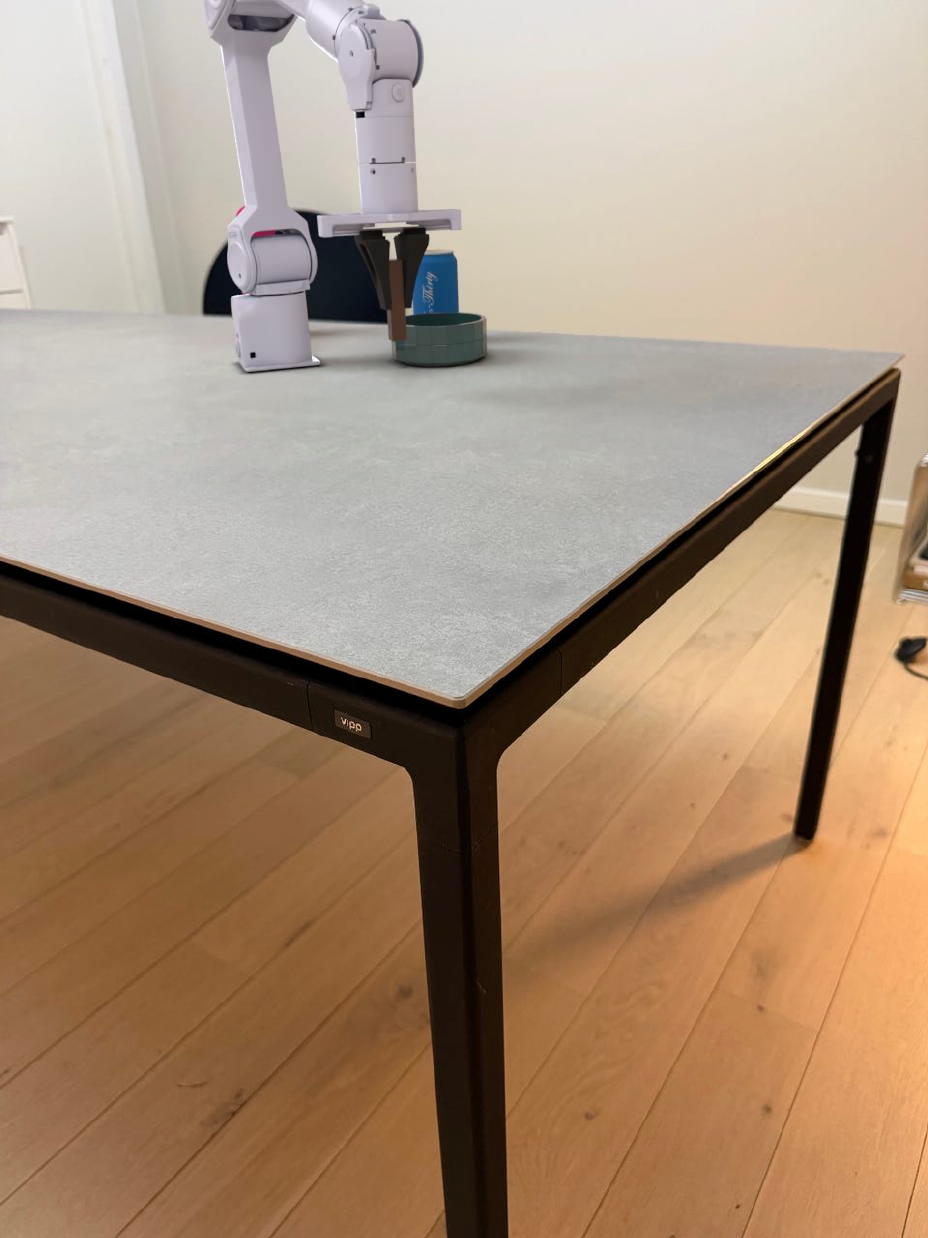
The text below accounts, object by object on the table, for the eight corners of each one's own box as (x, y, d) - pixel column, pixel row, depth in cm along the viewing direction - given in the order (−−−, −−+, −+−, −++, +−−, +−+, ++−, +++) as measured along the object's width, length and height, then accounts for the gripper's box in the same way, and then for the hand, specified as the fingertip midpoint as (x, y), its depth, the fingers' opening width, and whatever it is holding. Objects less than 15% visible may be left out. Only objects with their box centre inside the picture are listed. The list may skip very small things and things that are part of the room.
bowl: (408, 371, 112) (406, 329, 110) (382, 355, 123) (379, 316, 120) (501, 362, 116) (500, 321, 114) (467, 347, 126) (466, 309, 124)
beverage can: (409, 344, 129) (404, 253, 124) (421, 337, 135) (417, 249, 130) (453, 345, 128) (450, 252, 123) (464, 337, 134) (461, 248, 128)
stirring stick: (392, 341, 97) (387, 260, 93) (388, 339, 98) (383, 259, 95) (407, 340, 97) (402, 259, 94) (403, 337, 99) (398, 258, 95)
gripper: (323, 165, 85) (336, 318, 91) (470, 160, 89) (473, 307, 95) (308, 166, 91) (321, 309, 97) (446, 161, 95) (451, 299, 101)
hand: (395, 308), depth 96 cm, fingers closed on stirring stick, 1 cm apart
